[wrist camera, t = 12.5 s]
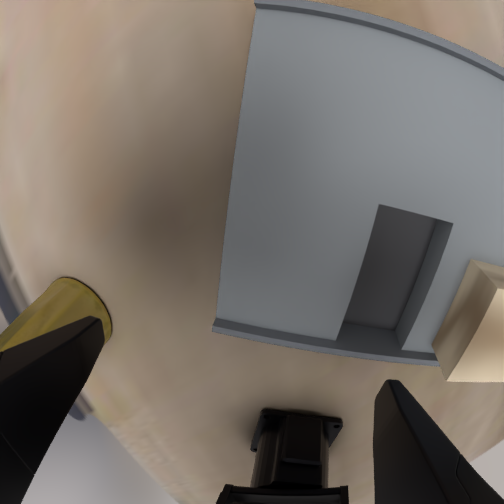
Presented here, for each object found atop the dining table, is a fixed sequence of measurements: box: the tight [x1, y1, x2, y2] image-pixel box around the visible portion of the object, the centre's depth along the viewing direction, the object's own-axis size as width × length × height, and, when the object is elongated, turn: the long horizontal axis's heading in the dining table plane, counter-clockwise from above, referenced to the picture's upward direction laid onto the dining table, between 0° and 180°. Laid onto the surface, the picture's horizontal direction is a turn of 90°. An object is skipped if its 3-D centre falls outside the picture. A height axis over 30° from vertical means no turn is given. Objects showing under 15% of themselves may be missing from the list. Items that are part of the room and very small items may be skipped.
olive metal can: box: [0, 278, 111, 352], centre depth 15 cm, size 6×6×14 cm
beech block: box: [431, 259, 504, 382], centre depth 13 cm, size 6×6×3 cm
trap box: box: [212, 0, 504, 367], centre depth 13 cm, size 16×28×3 cm, turn 82°
